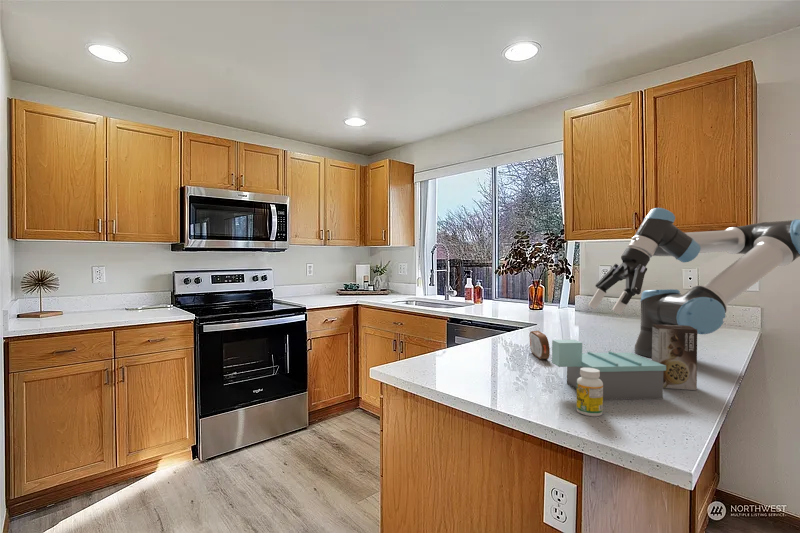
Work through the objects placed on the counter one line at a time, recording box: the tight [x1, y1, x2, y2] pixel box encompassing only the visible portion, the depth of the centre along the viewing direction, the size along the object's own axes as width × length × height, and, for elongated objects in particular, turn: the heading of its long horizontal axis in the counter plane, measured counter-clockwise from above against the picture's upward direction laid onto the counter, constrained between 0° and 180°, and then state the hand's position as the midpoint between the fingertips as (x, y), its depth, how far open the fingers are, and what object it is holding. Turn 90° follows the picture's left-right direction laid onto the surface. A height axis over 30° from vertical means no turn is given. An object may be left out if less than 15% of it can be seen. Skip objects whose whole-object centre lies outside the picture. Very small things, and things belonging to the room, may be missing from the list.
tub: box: [566, 367, 664, 401], centre depth 109 cm, size 18×13×7 cm
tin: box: [528, 330, 551, 360], centre depth 146 cm, size 15×3×8 cm, turn 179°
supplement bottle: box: [575, 368, 604, 417], centre depth 94 cm, size 5×5×10 cm
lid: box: [551, 339, 666, 372], centre depth 109 cm, size 25×14×6 cm, turn 95°
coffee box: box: [651, 324, 698, 391], centre depth 114 cm, size 9×6×16 cm
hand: (603, 309), depth 132 cm, fingers open, 13 cm apart
